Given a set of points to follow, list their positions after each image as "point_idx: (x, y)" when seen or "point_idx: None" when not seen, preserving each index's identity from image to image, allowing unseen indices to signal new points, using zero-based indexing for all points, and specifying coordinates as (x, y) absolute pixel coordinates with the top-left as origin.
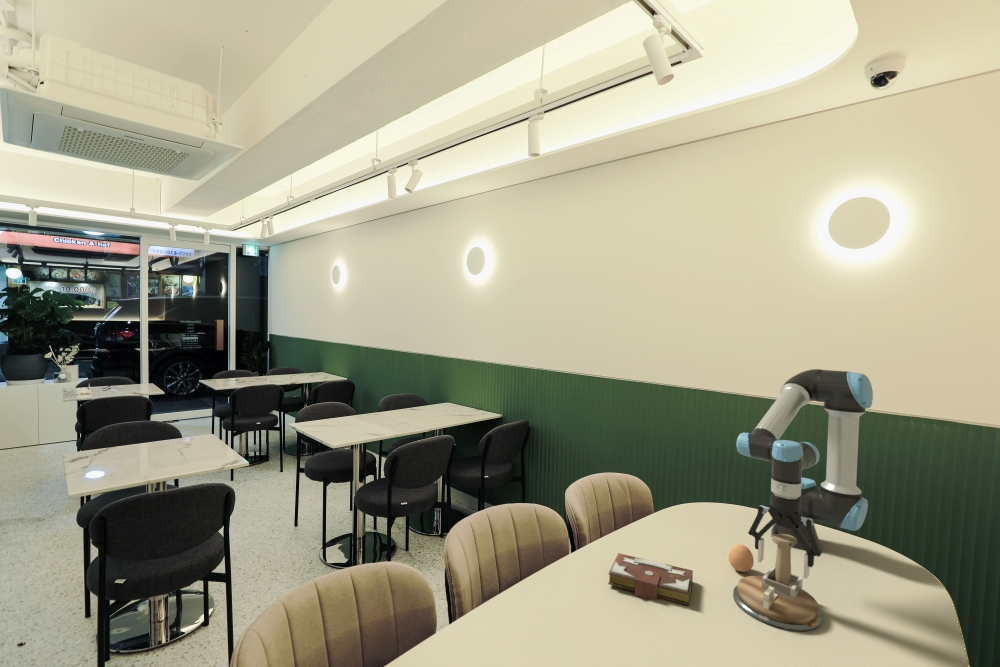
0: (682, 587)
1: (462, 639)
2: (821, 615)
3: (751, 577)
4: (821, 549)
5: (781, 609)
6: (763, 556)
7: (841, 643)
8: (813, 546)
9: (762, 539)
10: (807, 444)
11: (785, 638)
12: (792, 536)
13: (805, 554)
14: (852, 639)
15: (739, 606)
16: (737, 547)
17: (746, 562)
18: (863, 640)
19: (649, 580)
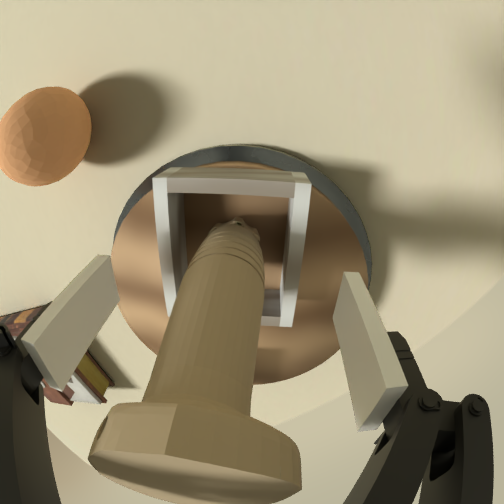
0: (89, 399)
1: (84, 457)
2: (368, 263)
3: (123, 241)
4: (490, 423)
5: (268, 365)
6: (101, 266)
7: (397, 328)
8: (426, 492)
9: (43, 364)
10: None
11: (289, 382)
12: (230, 469)
13: (366, 422)
14: (423, 297)
15: None
16: (3, 169)
17: (65, 167)
18: (444, 283)
19: (56, 398)
